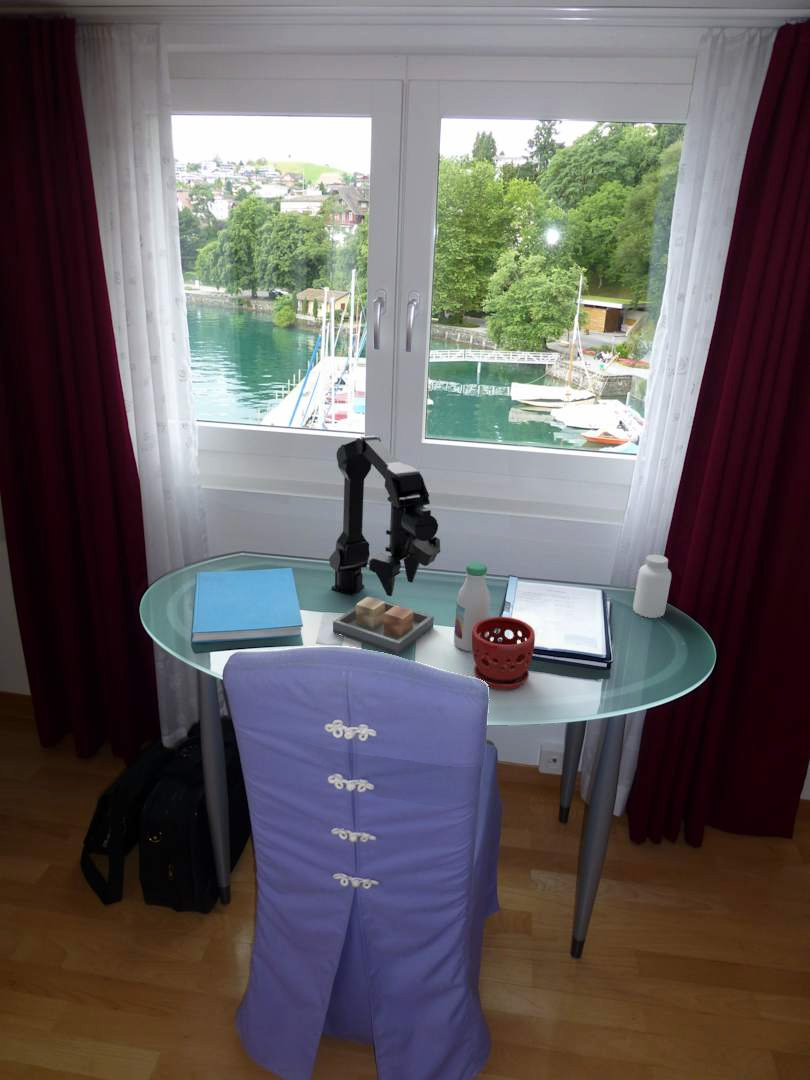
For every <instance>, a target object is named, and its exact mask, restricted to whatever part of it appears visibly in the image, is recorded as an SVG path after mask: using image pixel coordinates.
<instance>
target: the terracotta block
mask: <svg viewBox="0 0 810 1080" xmlns="http://www.w3.org/2000/svg"><path fill="white" fill-rule="evenodd" d="M399 606H400V605H398V606H394V607H393V608H391V609H390V610H388V611H387V612H385V613H384V633H387V634H390V635H393V636H396V637H399V638H401V637H402V636H404V635H405V634H406V633H408V632H409V631H410V630H412V629H413V619H414V611H415V610H414V611H412V610H413V609H411V610H409V609H410V608H408V609H406V608H407V607H405V608H403V607H404V606H401V607H399Z"/></svg>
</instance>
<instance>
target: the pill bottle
mask: <svg viewBox="0 0 810 1080" xmlns="http://www.w3.org/2000/svg"><path fill="white" fill-rule="evenodd" d="M668 565H669V559H668V558H667V557H666V556H664V555H660V554H649V555H647V556H646V557H645V564H643V565H642V566H640V568H639V570H638V574H637V580H636V587H635V592H634V598H633V604H632V605H633V606H632V609H633V611H634V612H635V614H637V615H638V614H639V615H638V616H641V617H643V616H644V618H647V617H648V618H649V619H658V618H657V617H659V618H662V617H663V616H664V615H665V612H666V607H667V602H668V598H669V591H670V587H671V581H672V572H671V570H670V568H668V567H669V566H668ZM661 616H662V617H661Z"/></svg>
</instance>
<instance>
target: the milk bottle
mask: <svg viewBox="0 0 810 1080" xmlns="http://www.w3.org/2000/svg"><path fill="white" fill-rule="evenodd" d="M465 571H466V572H465V575H466V578H465V580H464V583H463V584H462V585H461V588H460V590H459V592H458V593H457V600H456V605H455V606H456V608H455V618H454V619H455V620H454V621H455V622H454V633H453V643H454V645H455V647H456V648H458V649H459V650H461V651H465V652H473V650H472V630H473V627H474V625H475V624H476V623H477V622H479V621H481V620H484V619H487V618H491V617H490V615H491V593H490V591H489V587H488V586H487V583H486V576H487V573H488V572H487V571H488V566H487V565H486V564H485V563H482V562H480V561H472V562H468V563H467V564H466V568H465ZM488 635H489V632H486V633H485V637H487V636H488ZM479 636H480V633H479Z"/></svg>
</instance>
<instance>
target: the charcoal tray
mask: <svg viewBox="0 0 810 1080" xmlns="http://www.w3.org/2000/svg"><path fill="white" fill-rule="evenodd" d="M369 597H370V596H369ZM370 598H374V599H377V600H380V601H383V602H385V612H387V611H388V610H390V609H391V608H393V607H394V606H399V607H403V608H406V609H409V610H412V611H414V619H413V629H412V630H410V631H409V632H408V633H406V634H405V635H404V636H402V637H401V638H399V637H396V636H393V635H390V634H387V633H384V621H383V622H382V623H380V624H379V625H378V626H376V627H375V628H373V629H372V628H369V627H366V626H363V625H360V624H357V623H355V619H356V606H355V607H352V608H351V609H350V610H348V611H347V612H344V614H342V615H341V616H339V617H338V618H336V619H334V620H333V621H332V633H333V632H334V633H333V634H335V633H337V634H336V635H338V634H341V635H343V636H342V637H344V636H345V638H347V639H350V640H353V641H356V642H359V643H362V644H365V645H368V646H370V647H374V648H375V649H379V650H382V651H384V652H385V651H386V652H387V653H391V654H394V655H396V656H399V655H400V654H402V653H403V652H404V651H405V650H407V649H408V648H409V647H410V646H412V645H413V644H414V643H415V642H417V641H418V640H419V639H421V638H422V637H423V636H425V635H426V634H427V633H428V632H430V631H431V630H432V629H433V628H434V622H435V621H434V619H435V618H434V615H429V614H426V613H423V612H420V611H417V610H414V609H410V608H407V607H404V606H401V605H398V604H394V603H391V602H387V601H385V600H382V599H378V598H375V597H372V596H371V597H370ZM341 635H340V636H341Z"/></svg>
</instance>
